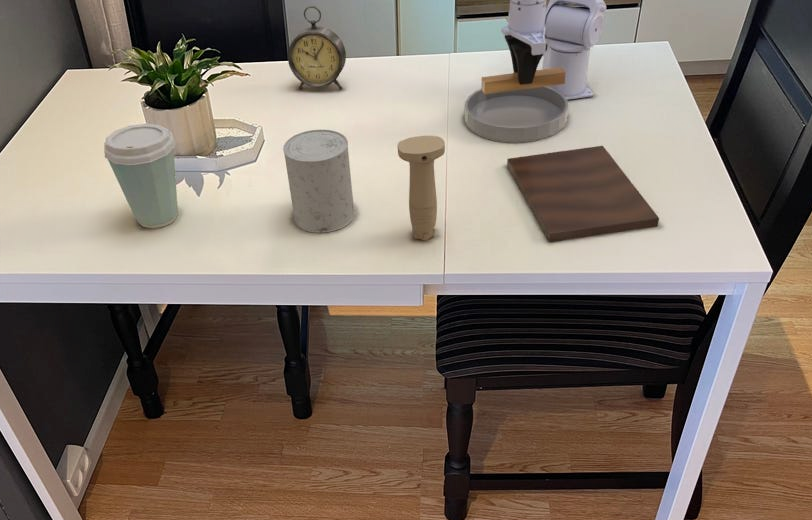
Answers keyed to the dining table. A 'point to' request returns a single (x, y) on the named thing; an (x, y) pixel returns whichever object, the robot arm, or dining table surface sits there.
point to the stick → (512, 83)
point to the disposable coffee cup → (145, 171)
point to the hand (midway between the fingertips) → (523, 79)
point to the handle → (422, 181)
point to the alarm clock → (316, 55)
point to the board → (580, 194)
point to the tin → (516, 114)
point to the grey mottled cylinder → (319, 180)
